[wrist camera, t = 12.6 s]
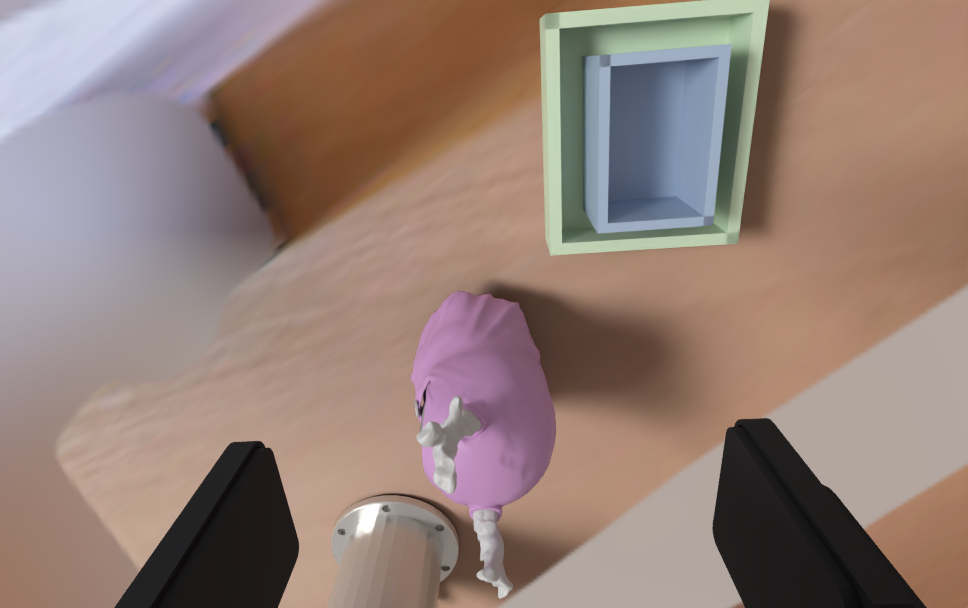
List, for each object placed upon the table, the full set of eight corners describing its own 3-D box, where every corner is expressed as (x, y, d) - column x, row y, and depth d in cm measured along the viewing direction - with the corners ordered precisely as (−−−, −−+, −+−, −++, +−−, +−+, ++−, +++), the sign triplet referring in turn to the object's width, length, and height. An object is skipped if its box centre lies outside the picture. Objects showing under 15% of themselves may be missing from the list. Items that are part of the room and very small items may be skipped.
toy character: (404, 281, 42) (334, 451, 23) (535, 268, 41) (568, 431, 23) (429, 409, 47) (387, 630, 28) (546, 398, 46) (580, 618, 28)
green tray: (715, 226, 39) (737, 243, 36) (545, 237, 40) (550, 255, 36) (740, 2, 33) (770, -6, 30) (539, 19, 34) (545, 13, 30)
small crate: (681, 202, 38) (713, 225, 32) (582, 209, 38) (597, 233, 33) (693, 46, 34) (731, 43, 28) (582, 56, 34) (599, 55, 29)
